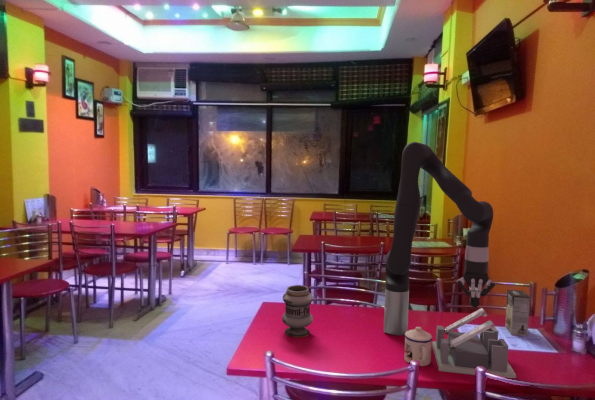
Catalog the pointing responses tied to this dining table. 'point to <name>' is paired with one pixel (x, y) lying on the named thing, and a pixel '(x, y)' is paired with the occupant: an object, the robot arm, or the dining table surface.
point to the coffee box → (517, 312)
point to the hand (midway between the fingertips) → (474, 307)
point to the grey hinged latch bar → (464, 320)
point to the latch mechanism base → (473, 353)
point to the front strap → (471, 334)
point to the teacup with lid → (418, 346)
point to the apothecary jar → (297, 310)
